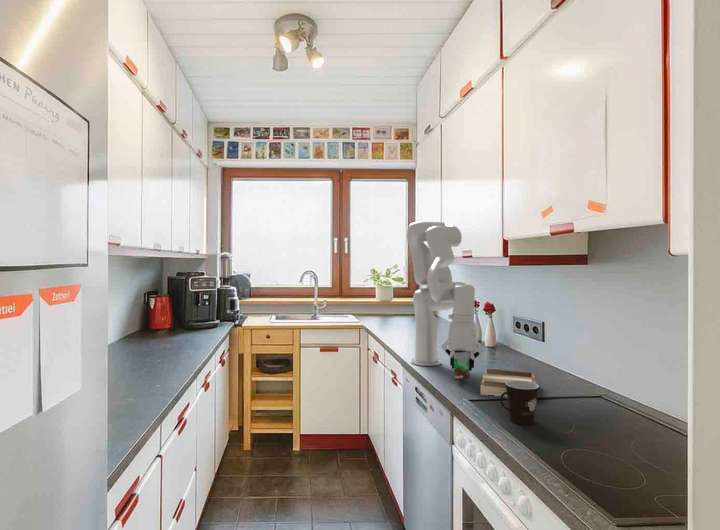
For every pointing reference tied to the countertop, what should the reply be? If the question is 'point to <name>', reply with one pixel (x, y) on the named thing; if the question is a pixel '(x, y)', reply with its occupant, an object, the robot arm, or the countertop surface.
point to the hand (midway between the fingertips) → (462, 368)
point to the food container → (461, 365)
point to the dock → (502, 380)
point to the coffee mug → (521, 401)
